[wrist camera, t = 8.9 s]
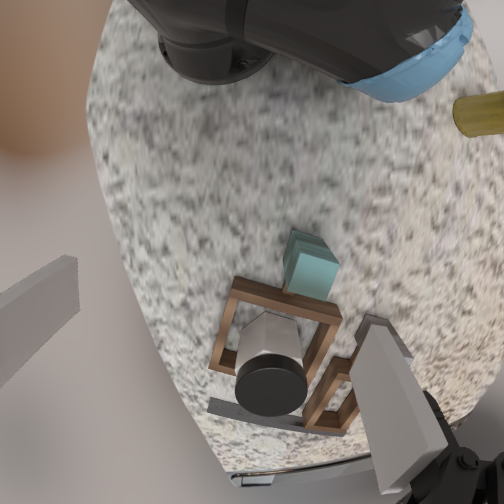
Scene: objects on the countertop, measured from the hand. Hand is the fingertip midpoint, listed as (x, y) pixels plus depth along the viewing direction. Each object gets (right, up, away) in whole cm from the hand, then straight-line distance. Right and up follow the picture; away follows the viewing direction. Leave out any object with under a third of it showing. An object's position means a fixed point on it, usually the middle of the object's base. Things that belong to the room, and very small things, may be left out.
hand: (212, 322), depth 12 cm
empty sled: (+17, -16, +31) cm, 39 cm away
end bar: (+6, -26, +35) cm, 44 cm away
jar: (+4, -9, +30) cm, 32 cm away
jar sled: (+6, -5, +28) cm, 29 cm away
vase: (+33, +22, +19) cm, 44 cm away
